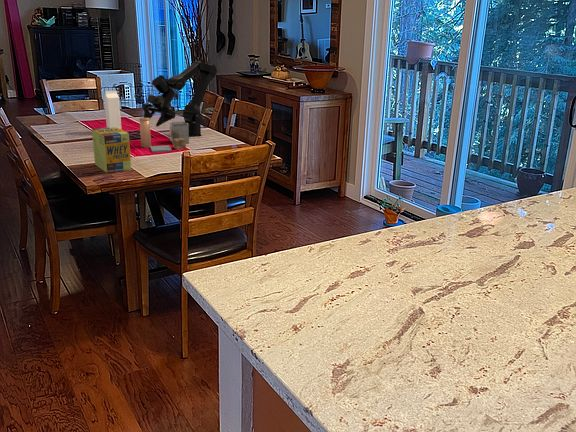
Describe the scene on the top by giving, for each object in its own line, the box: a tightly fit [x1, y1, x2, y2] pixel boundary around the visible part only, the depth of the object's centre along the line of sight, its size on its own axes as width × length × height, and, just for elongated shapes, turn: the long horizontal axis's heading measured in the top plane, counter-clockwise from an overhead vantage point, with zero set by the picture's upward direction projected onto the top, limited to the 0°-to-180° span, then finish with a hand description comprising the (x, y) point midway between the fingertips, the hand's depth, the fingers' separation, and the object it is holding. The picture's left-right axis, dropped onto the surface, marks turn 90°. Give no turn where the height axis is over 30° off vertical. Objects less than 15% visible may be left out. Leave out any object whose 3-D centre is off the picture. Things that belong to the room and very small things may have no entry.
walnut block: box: [172, 138, 187, 151], centre depth 267 cm, size 4×4×4 cm
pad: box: [149, 144, 173, 153], centre depth 264 cm, size 9×9×1 cm
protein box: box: [91, 127, 132, 174], centre depth 231 cm, size 10×15×16 cm
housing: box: [169, 121, 190, 145], centre depth 278 cm, size 8×8×10 cm
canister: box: [138, 116, 152, 149], centre depth 267 cm, size 5×5×14 cm
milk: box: [103, 89, 122, 130], centre depth 291 cm, size 6×6×22 cm
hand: (149, 124), depth 268 cm, fingers open, 9 cm apart
